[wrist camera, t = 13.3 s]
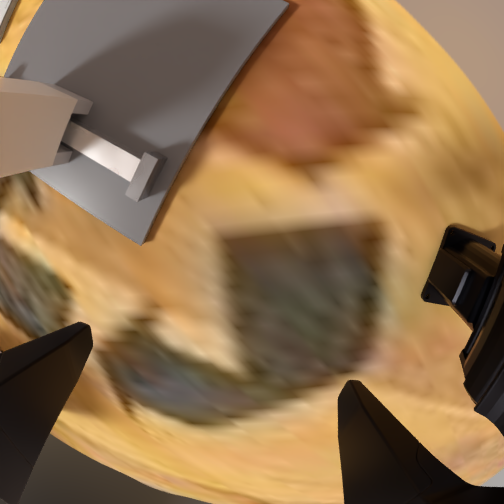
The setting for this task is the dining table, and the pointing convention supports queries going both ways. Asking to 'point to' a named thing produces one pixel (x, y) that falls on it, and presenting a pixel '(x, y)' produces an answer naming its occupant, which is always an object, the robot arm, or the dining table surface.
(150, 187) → the rail
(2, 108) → the block
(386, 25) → the dining table surface
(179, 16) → the mounting plate
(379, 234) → the dining table surface
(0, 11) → the hard drive
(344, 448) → the robot arm
